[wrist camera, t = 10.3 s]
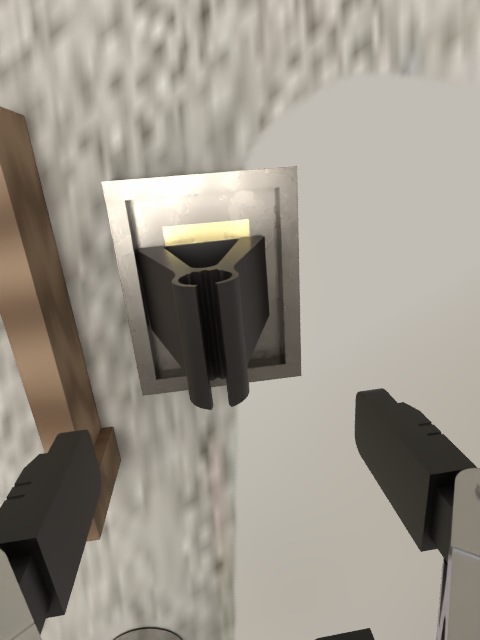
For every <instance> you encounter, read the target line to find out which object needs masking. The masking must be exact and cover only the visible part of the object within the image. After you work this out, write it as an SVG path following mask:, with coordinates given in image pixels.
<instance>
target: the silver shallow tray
mask: <svg viewBox="0 0 480 640" xmlns="http://www.w3.org/2000/svg"><path fill="white" fill-rule="evenodd" d="M102 187H103V192H104V197H105V202H106V207H107V213H108V218H109V223H110V228H111V233H112V239H113V244H114V249H115V254H116V259H117V264H118V270H119V275H120V280H121V285H122V290H123V295H124V301H125V306H126V311H127V316H128V321H129V327H130V332H131V337H132V342H133V347H134V352H135V358H136V363H137V368H138V373H139V378H140V384H141V389H142V394H143V395H151V394H159V393H167V392H175V391H183V390H189V389H188V382H187V376H186V373H185V371H184V370H183V369H182V367H181V366H180V365H179V364H178V362H177V361H176V360H175V359H174V357H173V356H172V355H171V354H170V352H169V351H168V350H167V349H166V347H165V346H164V345H163V344H162V342H161V341H160V340H159V339H158V337H157V336H156V335H155V334H154V332H153V331H152V330H151V325H150V320H149V314H148V309H147V303H146V298H145V293H144V287H143V282H142V277H141V271H140V266H139V260H138V255H137V249H141V248H149V247H159V246H168V245H177V244H187V243H196V242H206V241H215V240H224V239H234V238H243V237H252V236H265V251H266V267H267V282H268V298H269V313H270V315H269V317H268V320H267V322H266V324H265V326H264V329H263V331H262V333H261V335H260V338H259V340H258V342H257V344H256V347H255V349H254V351H253V353H252V356H251V358H250V360H249V362H248V364H247V371H248V381H249V382H255V381H263V380H271V379H279V378H287V377H295V376H301V347H300V346H301V344H300V293H299V242H298V195H297V194H298V191H297V166H295V167H282V168H269V169H258V170H244V171H231V172H219V173H206V174H193V175H181V176H168V177H155V178H142V179H130V180H117V181H104V182H102ZM210 385H211V387H215V386H223V385H227V382H226V378H225V379H223V380H222V379H220V378H217V379H215V380H214V381H211V380H210Z"/></svg>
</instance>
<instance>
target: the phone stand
mask: <svg viewBox="0 0 480 640" xmlns="http://www.w3.org/2000/svg"><path fill="white" fill-rule="evenodd" d="M137 255H138V260H139V266H140V271H141V277H142V282H143V287H144V293H145V298H146V303H147V309H148V314H149V320H150V325H151V330H152V331H153V332H154V334H155V335H156V336H157V337H158V339H159V340H160V341H161V342H162V344H163V345H164V346H165V347H166V349H167V350H168V351H169V352H170V354H171V355H172V356H173V357H174V359H175V360H176V361H177V362H178V364H179V365H180V366H181V367H182V369H183V370H184V371H185V373H186V376H187V382H188V389H189V395H190V400H191V402H192V403H193V404H194V405H196V406H198V407H200V408H203V409H209V410H212V408H213V400H212V393H211V385H210V380H211V381H214V380H215V379H217V378H220V379H222V380H223V379H225V378H226V382H227V391H228V400H229V405H230V406H231V407H233V406H235V405H237V404H239V403H241V402H242V401H243V400H244V399H246V397H247V396H248V394H249V381H248V371H247V364H248V362H249V360H250V358H251V356H252V353H253V351H254V349H255V347H256V344H257V342H258V340H259V338H260V335H261V333H262V331H263V329H264V326H265V324H266V322H267V320H268V317H269V315H270V313H269V298H268V282H267V267H266V251H265V236H252V237H243V238H234V239H224V240H215V241H206V242H196V243H187V244H177V245H168V246H159V247H149V248H141V249H137Z"/></svg>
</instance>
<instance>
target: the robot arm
mask: <svg viewBox="0 0 480 640" xmlns="http://www.w3.org/2000/svg"><path fill="white" fill-rule="evenodd" d="M355 441H356V445H357V448H358V451H359V453H360V455H361V457H362V459H363V460H364V462H365V463H366V465H367V466H368V468H369V470H370V471H371V473H372V474H373V476H374V478H375V479H376V481H377V482H378V484H379V486H380V487H381V489H382V490H383V492H384V494H385V495H386V497H387V498H388V500H389V502H390V503H391V505H392V506H393V508H394V509H395V511H396V513H397V514H398V516H399V518H400V519H401V521H402V522H403V524H404V525H405V527H406V529H407V530H408V532H409V533H410V535H411V537H412V538H413V540H414V541H415V543H416V545H417V546H418V548H419V549H420V551H421V552H422V551H427V550H433V549H438V550H439V551H440V553H441V554H442V556H443V557H444V559H443V566H442V577H441V589H440V602H439V613H438V625H437V638H436V640H480V468H477V467H476V466H475V465H474V464H473V463H472V462H471V461H470V460H469V459H468V458H467V457H466V456H465V455H464V454H463V453H462V452H461V451H460V450H459V449H458V448H457V447H456V446H455V445H454V444H453V443H452V442H451V441H450V440H449V439H448V438H447V437H446V436H445V435H444V434H441V431H440V430H439V429H438V428H437V427H436V426H434V425H432V424H431V421H429V420H428V419H427V418H426V417H425V416H424V415H423V414H422V413H421V412H420V411H419V410H417V409H415V408H413V407H411V406H410V405H408V404H405V403H404V402H402V403H397V402H396V401H395V400H394V399H393V398H392V397H391V396H390V394H389V393H388V392H387V391H386V390H385V389H375V390H368V391H360V392H358V393H357V395H356V409H355ZM100 492H101V473H100V469H99V465H98V461H97V458H96V454H95V450H94V446H93V443H92V439H91V435H90V433H89V431H88V430H78V431H71V432H64V433H59V434H58V435H57V436H56V438H55V440H54V442H53V444H52V445H51V447H50V449H49V451H48V453H45V454H39V455H38V456H37V457H36V458H35V459H34V460H33V461H31V462H30V463H29V464H28V465H27V466H26V467H25V468H24V469H23V471H22V472H21V474H20V476H19V477H18V479H17V481H16V483H15V487H13V488H12V489H11V491H10V493H9V494H8V496H7V500H6V501H4V503H3V505H2V506H1V508H0V640H42V639H41V637H40V634H41V631H42V628H43V625H44V622H45V619H46V618H49V617H55V616H60V615H65V612H66V608H67V605H68V602H69V598H70V595H71V591H72V588H73V585H74V581H75V578H76V575H77V571H78V568H79V564H80V561H81V558H82V554H83V551H84V547H85V544H86V541H87V537H88V534H89V530H90V527H91V524H92V520H93V517H94V513H95V510H96V507H97V503H98V500H99V497H100ZM115 640H181V639H180V638H179V637H178V636H176V635H174V634H173V633H170V632H167V631H164V630H159V629H141V630H136V631H132V632H129V633H126V634H124V635H122V636H120V637H118V638H117V639H115ZM316 640H374V637H373V635H372V633H371V630H370V628H367V629H362V630H358V631H352V632H347V633H342V634H337V635H332V636H327V637H322V638H318V639H316Z"/></svg>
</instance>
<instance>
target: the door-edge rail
mask: <svg viewBox="0 0 480 640" xmlns="http://www.w3.org/2000/svg"><path fill="white" fill-rule="evenodd" d="M0 313H1V317H2V320H3V323H4V326H5V329H6V332H7V335H8V338H9V342H10V345H11V348H12V351H13V354H14V357H15V360H16V364H17V367H18V370H19V373H20V376H21V379H22V382H23V385H24V389H25V392H26V395H27V398H28V401H29V404H30V407H31V410H32V414H33V417H34V420H35V423H36V426H37V429H38V432H39V435H40V439H41V442H42V445H43V448H44V451H45V453H48V451H49V449H50V447H51V445H52V444H53V442H54V440H55V438H56V436H57V435H58V434H59V433H64V432H71V431H78V430H88V431H89V433H90V435H91V439H92V443H93V446H94V450H95V454H96V458H97V461H98V465H99V469H100V473H101V492H100V497H99V500H98V503H97V507H96V510H95V513H94V517H93V520H92V524H91V527H90V530H89V534H88V537H87V541H93V540H99V539H100V537H101V533H102V529H103V526H104V522H105V518H106V514H107V511H108V507H109V503H110V499H111V495H112V492H113V488H114V484H115V480H116V477H117V473H118V469H119V465H120V461H121V459H120V455H119V451H118V446H117V442H116V438H115V433H114V429H113V427H109V428H102V429H101V426H100V422H99V418H98V414H97V409H96V405H95V401H94V397H93V393H92V389H91V385H90V381H89V377H88V373H87V369H86V365H85V361H84V357H83V353H82V349H81V345H80V341H79V337H78V333H77V329H76V325H75V321H74V317H73V312H72V308H71V304H70V300H69V296H68V292H67V288H66V284H65V280H64V276H63V272H62V268H61V264H60V260H59V256H58V252H57V248H56V244H55V240H54V236H53V232H52V228H51V224H50V219H49V215H48V211H47V207H46V203H45V199H44V195H43V191H42V187H41V183H40V179H39V175H38V171H37V167H36V163H35V159H34V155H33V151H32V147H31V143H30V139H29V135H28V131H27V126H26V122H25V118H24V116H23V115H20V114H18V113H15V112H13V111H10V110H7V109H5V108H2V107H0Z"/></svg>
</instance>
